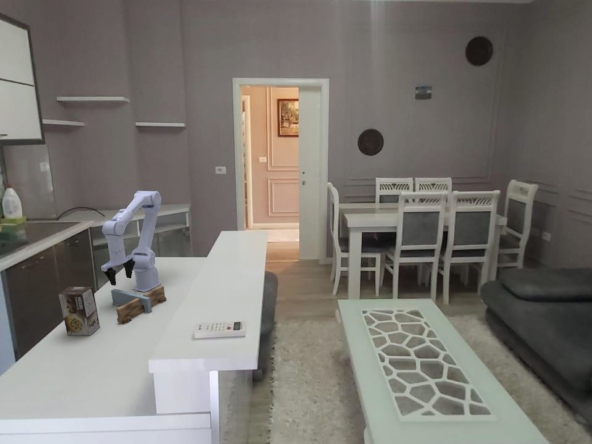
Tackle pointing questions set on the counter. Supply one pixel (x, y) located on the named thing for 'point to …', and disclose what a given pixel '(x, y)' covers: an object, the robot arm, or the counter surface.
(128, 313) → the walnut slotted plate
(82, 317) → the coffee box
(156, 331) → the counter surface
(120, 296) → the grey notched plate
